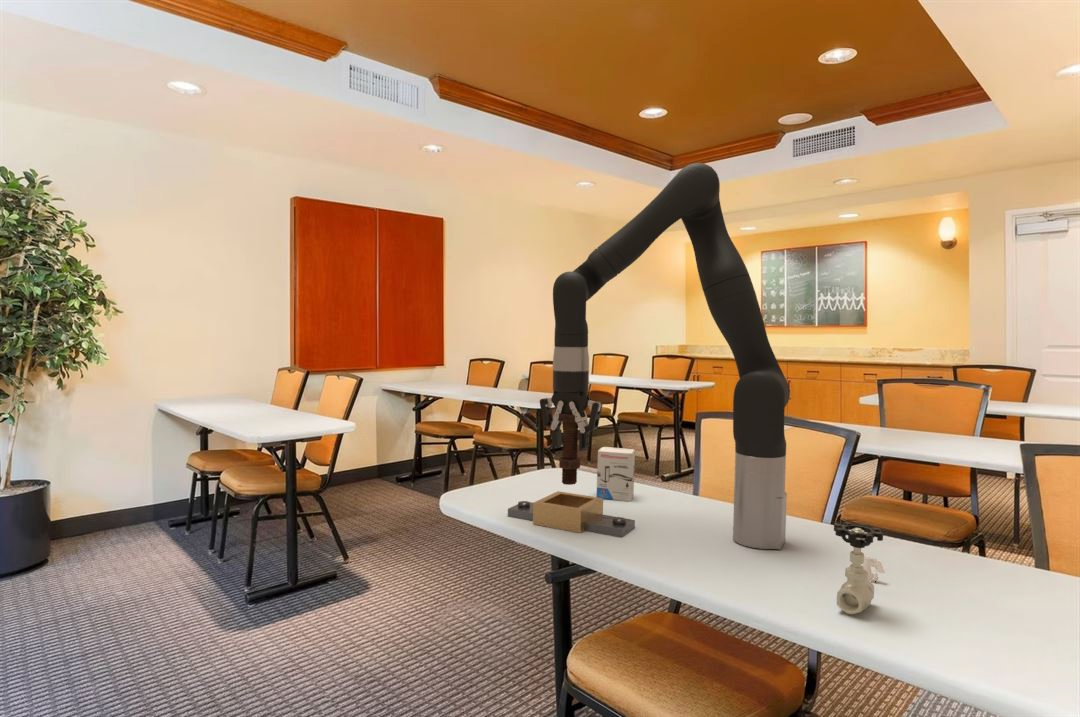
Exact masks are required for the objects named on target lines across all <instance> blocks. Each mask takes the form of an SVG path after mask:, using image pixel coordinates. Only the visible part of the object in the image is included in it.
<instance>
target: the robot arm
mask: <svg viewBox="0 0 1080 717" xmlns="http://www.w3.org/2000/svg"><path fill="white" fill-rule="evenodd" d="M718 175H719V174H718V173H717V171H716V170H715V169H714V168H713V167H712V166H710V165H708V164H706V163H702V162H696V163H694V162H693V163H690V164H688V165H686V166H684V167H683V168H682V169H680V170H679V171H678V173H676V175H675V176H674V177H672V179H671V180H670V181H669V182H668V183H667V184H666V186H665V187H664V188H662V190H661V191H660V192H659V193H658V194H657V195H656V197H655V196H654V198H653V199H652V200H651V201H650V203H648V204H647V205H646V206H645V207H644V208H643V209H642V210H641V211H640V212H639V213H638V214H636V215H635V216H634V217H633V218H632V219H631V220H629V221H628V222H627V223H626V224H625V225H623V227H621V228H620V229H618V231H616V232H615V233H614V234H612V235H611V236H610V237H609V238H607V239H606V240H605V241H603V243H601V244H600V245H598V247H596V248H594V250H593V251H592V252H590V254H589V255H588V257H587V259H586V260H585V261H583V262H582V263H581V264H580V265H579V266H578V267H577V268H575V269H573V271H565V272H563V273H561V274H559V275H558V276H557V278H556V279H555V280H554V283H553V288H552V306H553V313H554V314H553V315H554V320H555V321H554V323H555V325H554V346H553V347H554V348H553V355H552V357H553V359H552V390H553V394H552V395H551V397H544V398H540V399H539V407H540V412H541V419H542V425H543V427H545V428H546V427H547V428H550V430H551V444H552V446H553V448H554V449H559V448H562V439H563V429H561V427H562V423H563V422H562V421H559V413H565V414H573V415H575V421H576V423H577V424H578V431H579V432H580V433H579V432H578V434H579V435H578V451H580V452H583V451H586V450H587V449H588V448H589V446H590V433H591V432H592V431H595V430H598V428H599V424H600V420H601V414H602V408H603V402H602V401H595V400H591V399H590V397H589V388H590V387H589V386H590V384H589V382H590V379H589V378H590V376H589V375H590V356H589V355H590V354H589V348H588V347H589V327H588V326H589V325H588V322H587V301H589V300H590V299H591V298H593V296H595V295H596V294H597V293H598V292H599V291H600V290H601V289H602V288H603V287H604V286H605V285H606V284H607V283H609V281H611V280H613V279H615V277H617V276H618V275H620V274H621V273H622V272H623V271H624V270H626V269H627V268H629V266H631V265H632V264H634V262H637V260H638V259H639V258H640V257H641V256H642V255H643V254H644V253H645V252H646V251H647V250H648V249H649V248H650V247H651V245H652V244H654V242H655V241H657V239H658V238H659V237H660V236H661V235H662V234H663V233H664V232H665V231H666V230H668V228H670V227H671V226H672V225H674V224H675V223H676V222H678V221H679V220H681V221H682V224H683V225H684V227H685V231H686V233H687V235H688V236H689V240H690V242H691V245H692V249H693V253H694V257H695V263H696V269H697V273H698V277H699V281H700V284H701V285H700V286H701V290H702V291H703V295H704V297H705V298H704V299H705V301H706V304H707V307H708V309H709V312H710V314H711V316H712V319H713V320H714V323H715V324H716V326H717V329H718V330H719V331H720V333H721V334H722V336H723V338H724V340H725V341H726V343H727V344H728V347H729V348H730V350H731V353H732V356H733V358H734V361H735V365H736V369H737V372H738V378H739V379H738V380H737V383H736V384H735V386H734V391H733V397H732V399H733V400H732V401H733V402H732V434H733V439H734V448H735V450H734V454H735V455H734V484H733V485H734V487H733V488H734V489H733V517H732V518H733V520H732V523H733V524H732V525H733V526H732V539H733V541H734V542H736V543H737V544H740V545H742V546H744V547H749V548H753V549H761V550H781V549H782V548H783V545H785V542H786V535H787V534H786V533H787V532H786V531H787V529H786V528H787V498H788V497H787V496H788V495H787V494H788V493H787V492H786V468H787V467H786V464H787V441H786V436H785V409H786V407H787V405H788V403H789V400H790V397H791V390H790V386H789V382H788V381H787V379H786V376H785V375H784V372H783V370H782V368H781V367H780V365H779V362H778V360H777V357H776V356H775V353H774V351H773V349H772V346H771V343H770V341H769V338H768V335H767V330H766V326H765V321H764V318H763V314H762V309H761V307H760V304H759V301H758V298H757V293H756V290H755V287H754V284H753V282H752V279H751V276H750V272H749V270H748V269H747V268H748V267H747V266H746V264H745V261H744V260H743V257H742V255H741V254H740V252H739V251H738V249H737V248H736V246H735V244H734V242H733V241H732V238H731V237H730V235H729V233H728V229H727V227H726V226H727V225H726V222H725V218H724V215H723V211H722V206H721V200H720V191H721V190H720V189H721V188H720V187H721V186H720V178H719V176H718ZM553 406H554V408H555V412H554V414H553V412H552V407H553ZM588 407H589V411H590V414H589V420H588V415H587V412H586V409H587V408H588ZM580 414H583V417H581V416H580Z"/></svg>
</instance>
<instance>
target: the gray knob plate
mask: <svg viewBox="0 0 1080 717" xmlns="http://www.w3.org/2000/svg"><path fill="white" fill-rule="evenodd" d="M635 524H636V520H635V519H631V518H630V519H629V518H627V517H622V516H621V517H620V516H614V515H613V516H612V515H608V514H604V513H603V514H598V515H597V516H595V517H593V518H592V519H590V520H588V521H587V522H585V532H591V533H597V534H602V535H608V536H612V537H618V538H623V537H624V536H626V535H627V534H628V533H630V532H631V531H633V529H635V528H636V526H635Z"/></svg>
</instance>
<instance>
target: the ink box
mask: <svg viewBox="0 0 1080 717" xmlns="http://www.w3.org/2000/svg"><path fill="white" fill-rule="evenodd" d="M635 456H636V449H633V448H624V447H623V448H622V447H610V446H602V447H599V449H598V450H597V465H596V466H597V467H596V468H597V469H596V470H597V471H596V472H597V473H596V497H598V498H603V500H610V499H612V500H611V501H621V502H631V501H632V500H633V498H634V488H635V465H636V464H635V461H636V460H635Z"/></svg>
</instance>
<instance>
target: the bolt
mask: <svg viewBox="0 0 1080 717" xmlns="http://www.w3.org/2000/svg"><path fill="white" fill-rule="evenodd" d="M580 416H581V417H583V414H580ZM559 421H562V422H563V423H562V425H561V427H562V443H561V448H562V449H561V450H562V456H560V457H559V463H558V464H559V465H558V466H559V468H560V469H561V470H562V472H561V483H562V484H563V485H566V486H567V485H569V486H571V485H575V484H577V482H578V480H577V479H578V469H580V468H581V458H580V457H579V456H578V451H579V435H578V434H579V427H578V424H577V423H576V421H575V415H573V414H565V413H559Z"/></svg>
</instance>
